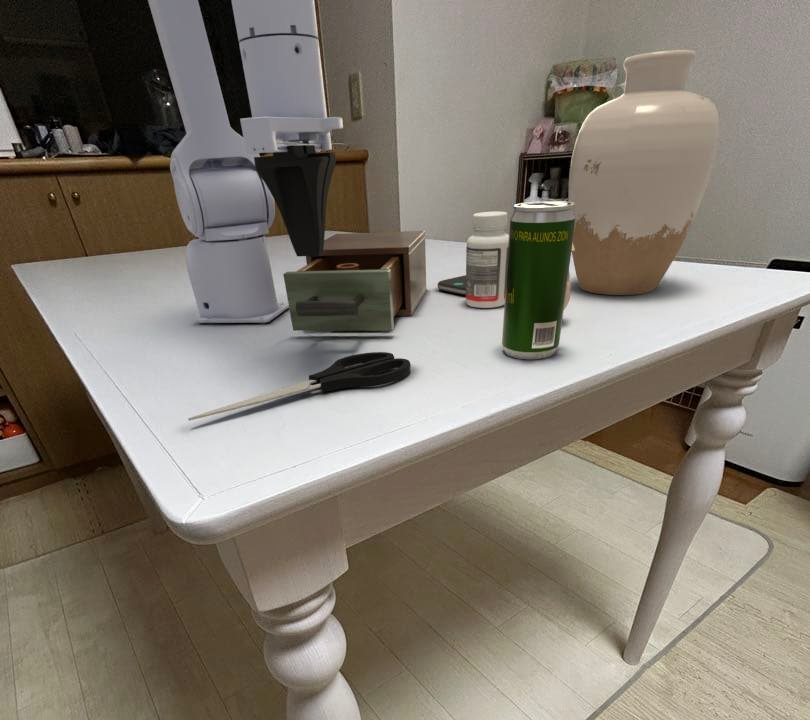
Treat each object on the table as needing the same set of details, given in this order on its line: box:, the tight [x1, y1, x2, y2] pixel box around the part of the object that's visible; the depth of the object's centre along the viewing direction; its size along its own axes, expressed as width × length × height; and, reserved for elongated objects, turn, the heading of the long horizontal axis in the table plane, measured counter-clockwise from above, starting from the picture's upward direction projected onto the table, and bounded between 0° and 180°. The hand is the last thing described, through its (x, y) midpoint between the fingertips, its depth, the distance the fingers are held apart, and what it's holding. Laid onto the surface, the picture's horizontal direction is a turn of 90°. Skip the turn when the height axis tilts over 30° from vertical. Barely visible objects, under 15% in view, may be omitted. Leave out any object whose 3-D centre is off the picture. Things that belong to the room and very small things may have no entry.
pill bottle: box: [465, 211, 509, 309], centre depth 62 cm, size 5×5×10 cm
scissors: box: [187, 351, 412, 421], centre depth 43 cm, size 7×1×20 cm
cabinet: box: [305, 230, 427, 317], centre depth 66 cm, size 13×12×7 cm
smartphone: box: [437, 274, 466, 296], centre depth 73 cm, size 8×1×15 cm
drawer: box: [282, 254, 405, 332], centre depth 57 cm, size 17×11×6 cm, turn 170°
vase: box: [567, 49, 720, 296], centre depth 62 cm, size 16×16×23 cm
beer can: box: [501, 200, 576, 360], centre depth 46 cm, size 5×5×12 cm
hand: (310, 255), depth 45 cm, fingers closed
